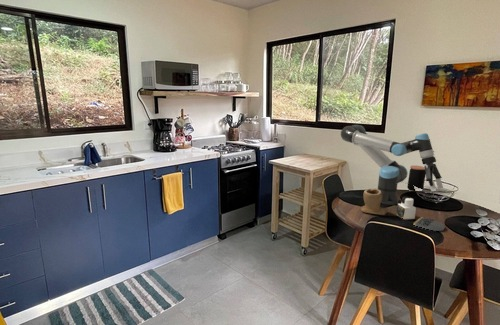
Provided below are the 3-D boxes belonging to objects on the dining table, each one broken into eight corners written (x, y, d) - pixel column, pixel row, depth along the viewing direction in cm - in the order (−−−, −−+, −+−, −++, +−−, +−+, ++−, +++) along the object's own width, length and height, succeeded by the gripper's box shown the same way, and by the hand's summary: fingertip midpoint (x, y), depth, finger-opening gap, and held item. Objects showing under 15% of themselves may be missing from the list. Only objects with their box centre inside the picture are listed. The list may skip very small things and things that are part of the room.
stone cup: (359, 214, 174) (361, 190, 170) (361, 207, 184) (364, 185, 180) (386, 219, 167) (390, 194, 163) (387, 212, 177) (390, 189, 174)
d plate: (447, 226, 158) (447, 223, 158) (440, 233, 150) (440, 231, 149) (421, 219, 168) (421, 216, 167) (413, 225, 159) (413, 222, 159)
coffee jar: (425, 192, 214) (428, 169, 210) (409, 191, 216) (413, 168, 212) (419, 188, 224) (423, 165, 220) (405, 187, 227) (408, 165, 222)
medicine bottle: (396, 214, 174) (398, 195, 171) (407, 214, 174) (410, 195, 172) (403, 219, 167) (405, 200, 164) (414, 219, 167) (417, 199, 165)
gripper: (427, 156, 173) (437, 191, 170) (440, 155, 190) (449, 186, 187) (414, 159, 179) (424, 193, 176) (428, 158, 195) (437, 188, 192)
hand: (437, 189), depth 181 cm, fingers open, 13 cm apart
